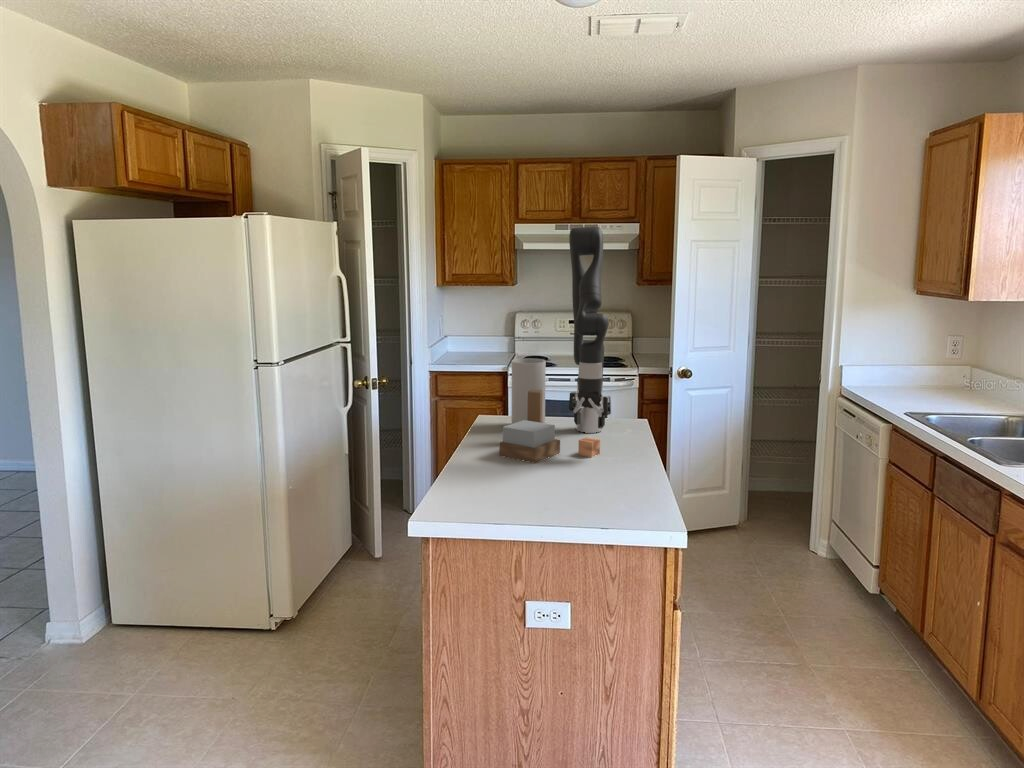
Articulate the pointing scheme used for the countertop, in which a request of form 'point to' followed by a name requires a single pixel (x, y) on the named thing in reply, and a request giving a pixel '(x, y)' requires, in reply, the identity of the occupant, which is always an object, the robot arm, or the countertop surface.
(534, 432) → the tower top block
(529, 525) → the countertop surface
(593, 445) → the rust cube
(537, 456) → the tower base block
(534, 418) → the wooden block
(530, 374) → the cylinder vase
